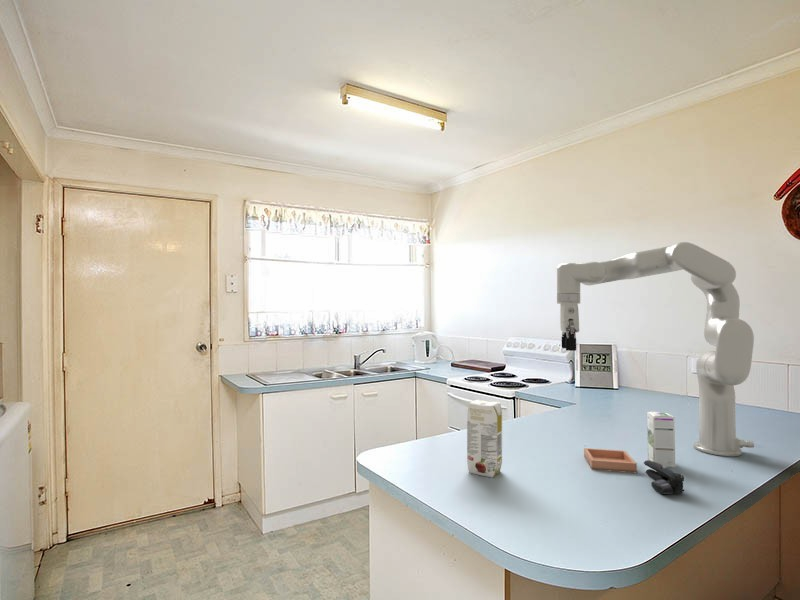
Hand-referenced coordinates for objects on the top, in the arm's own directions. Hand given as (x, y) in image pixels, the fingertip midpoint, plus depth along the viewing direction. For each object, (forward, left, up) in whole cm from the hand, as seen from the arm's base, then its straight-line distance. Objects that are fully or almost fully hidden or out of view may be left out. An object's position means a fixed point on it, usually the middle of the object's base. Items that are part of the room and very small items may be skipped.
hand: (568, 349), depth 154 cm
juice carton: (+27, +37, -31) cm, 55 cm away
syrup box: (-23, +18, -31) cm, 43 cm away
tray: (-8, +22, -31) cm, 39 cm away
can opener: (-17, +35, -32) cm, 50 cm away
